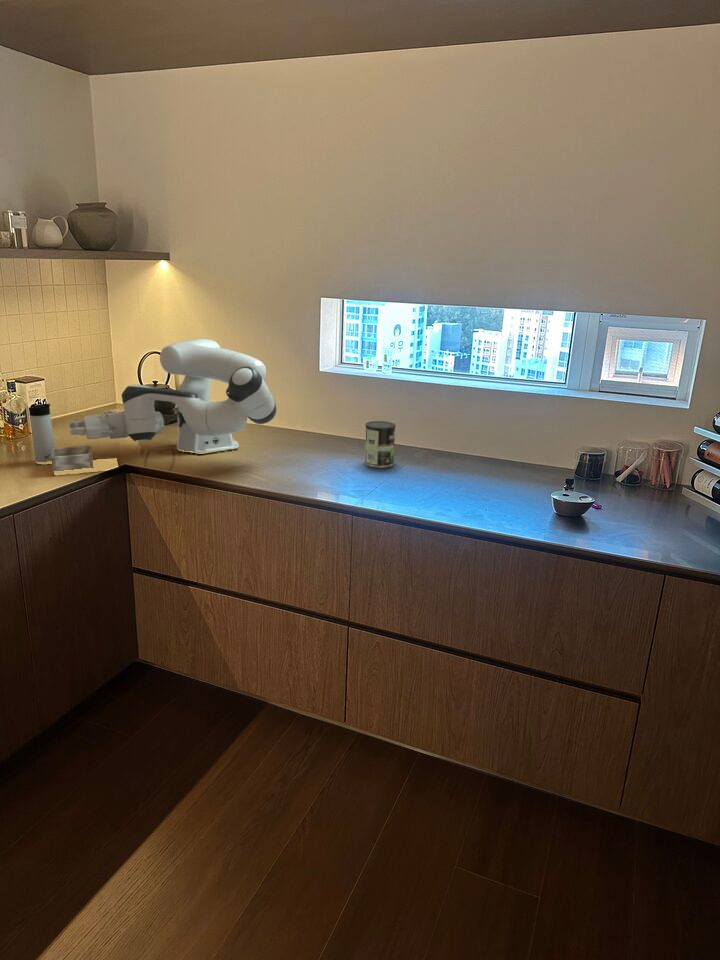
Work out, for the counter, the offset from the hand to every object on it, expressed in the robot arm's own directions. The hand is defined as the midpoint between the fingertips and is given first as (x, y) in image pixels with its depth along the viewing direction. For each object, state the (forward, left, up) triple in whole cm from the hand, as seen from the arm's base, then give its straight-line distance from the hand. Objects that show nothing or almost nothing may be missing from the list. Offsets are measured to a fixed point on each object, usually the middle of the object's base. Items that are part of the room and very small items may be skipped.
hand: (69, 428), depth 224 cm
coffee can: (-98, +35, -12) cm, 104 cm away
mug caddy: (-4, +9, -11) cm, 15 cm away
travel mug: (+8, -1, -12) cm, 14 cm away
